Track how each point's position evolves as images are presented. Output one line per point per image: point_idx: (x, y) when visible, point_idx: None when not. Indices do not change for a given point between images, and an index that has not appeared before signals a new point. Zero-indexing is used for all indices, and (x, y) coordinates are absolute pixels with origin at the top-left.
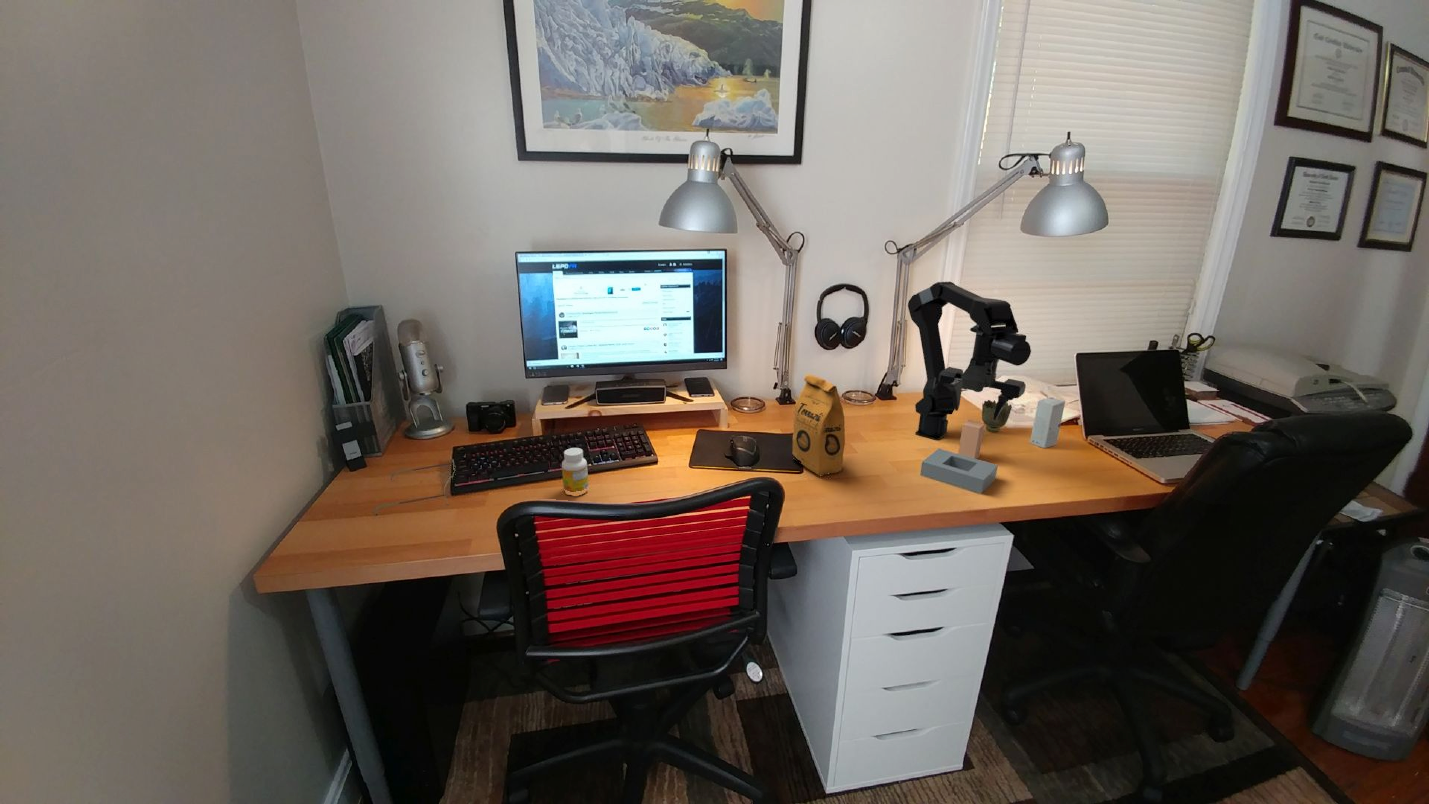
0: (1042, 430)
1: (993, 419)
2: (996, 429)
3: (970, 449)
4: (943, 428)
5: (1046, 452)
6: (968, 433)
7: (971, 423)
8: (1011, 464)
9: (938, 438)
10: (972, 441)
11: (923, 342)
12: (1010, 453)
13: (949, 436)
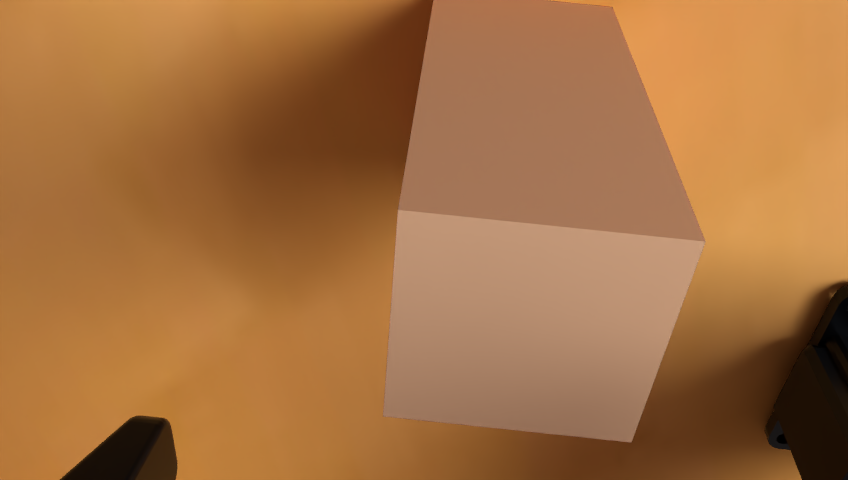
0: None
1: (161, 418)
2: None
3: (491, 45)
4: (838, 408)
5: (61, 454)
6: (564, 153)
7: (567, 339)
8: (134, 140)
9: (841, 300)
10: (482, 91)
11: None
12: (232, 335)
13: (733, 399)
